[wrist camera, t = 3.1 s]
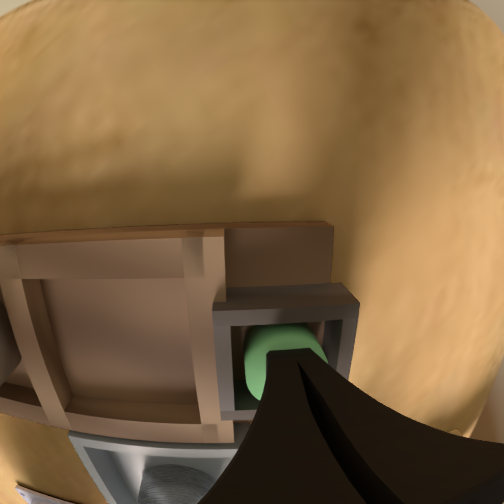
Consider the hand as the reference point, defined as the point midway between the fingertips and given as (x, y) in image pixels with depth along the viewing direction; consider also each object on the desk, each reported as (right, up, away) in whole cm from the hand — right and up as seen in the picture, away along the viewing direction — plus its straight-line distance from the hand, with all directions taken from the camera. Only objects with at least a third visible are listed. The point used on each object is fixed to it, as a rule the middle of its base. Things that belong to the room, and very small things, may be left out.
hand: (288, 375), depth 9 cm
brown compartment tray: (-8, +1, +2) cm, 9 cm away
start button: (0, 0, +2) cm, 2 cm away
